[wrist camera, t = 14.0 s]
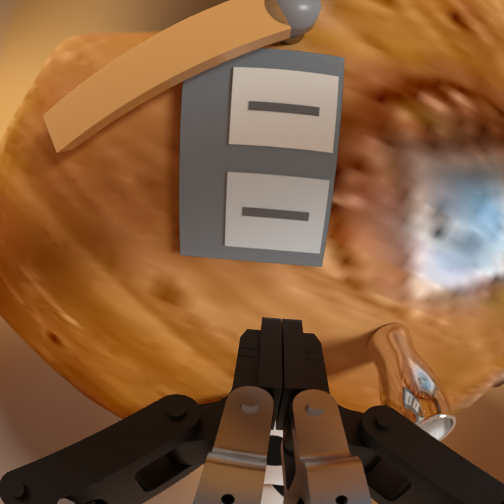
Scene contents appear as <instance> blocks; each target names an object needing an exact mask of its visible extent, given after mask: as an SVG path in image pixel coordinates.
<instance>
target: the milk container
mask: <svg viewBox="0 0 504 504" xmlns="http://www.w3.org/2000/svg"><path fill="white" fill-rule="evenodd" d="M282 441H283V430H276V421H275V426H274V430H271V433H270V437H269V445H268V452H267V465H266V472H265V479H264V486H263V492H262V498H261V504H283V499H284V486H283V473H282V461H281V444H282Z"/></svg>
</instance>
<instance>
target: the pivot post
mask: <svg viewBox="0 0 504 504" xmlns="http://www.w3.org/2000/svg"><path fill="white" fill-rule="evenodd" d="M304 34H305V33H304ZM304 34H301V35H295V36H290V38H288V39H285V40H282V41H279V42H280V43H282V44H286V45H292V44H296V43H298V42H300V41H301V40H302V39H303V37H304Z"/></svg>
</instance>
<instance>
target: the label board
mask: <svg viewBox="0 0 504 504" xmlns="http://www.w3.org/2000/svg"><path fill="white" fill-rule="evenodd" d="M343 79H344V58H343V57H337V56H331V55H324V54H317V53H310V52H301V51H292V50H280V49H265V48H259V49H256V50H253V51H251V52H248V53H245V54H243V55H240V56H238V57H235V58H233V59H231V60H228V61H226V62H223V63H221V64H219V65H216V66H214V67H212V68H210V69H208V70H205V71H203V72H201V73H199V74H197V75H195V76H193V77H191V78H189V79H187V80H185V81H183V87H182V104H181V126H180V161H179V222H180V255H185V256H196V257H208V258H219V259H231V260H243V261H255V262H267V263H279V264H292V265H304V266H317V267H322V263H323V257H324V251H325V245H326V239H327V232H328V225H329V218H330V211H331V204H332V196H333V189H334V180H335V172H336V163H337V154H338V144H339V133H340V122H341V109H342V95H343Z"/></svg>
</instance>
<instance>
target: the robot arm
mask: <svg viewBox="0 0 504 504" xmlns="http://www.w3.org/2000/svg"><path fill="white" fill-rule="evenodd" d="M322 353H323V352H322V346H321V342H320V341H319V339H318V338H317V337H316V336H315V334H311V333H303V327H302V321H301V320H293V319H282V323H281V319H278V318H265V317H262V324H261V330H252V329H247V330H246V331H245V332H244V334H243V335H242V336H241V337H240V343H239V349H238V357H237V362H236V369H235V375H234V381H233V387H232V390H231V392H230V393H229V394H228V395H227V396H226V397H225V398H224V399H222V400H220V401H217V402H213V403H207V404H199V405H198V404H197V403H196V401H195V400H193V399H192V398H190V397H188V396H185V395H179V394H173V395H168V396H165V397H163V398H161V399H159V400H158V401H156V402H154V403H152V404H150V405H149V406H147V407H145V408H143V409H141V410H140V411H138V412H136V413H134V414H132V415H130V416H128V417H127V418H125V419H123V420H121V421H119V422H117V423H115V424H113V425H111V426H109V427H107V428H105V429H103V430H101V431H100V432H97V433H96V434H94V435H91V436H89V437H87V438H85V439H83V440H81V441H79V442H77V443H75V444H73V445H70V446H68V447H66V448H64V449H62V450H59V451H57V452H55V453H53V454H51V455H49V456H46V457H44V458H41V459H39V460H37V461H34V462H32V463H29V464H27V465H24V466H22V467H20V468H17V469H14V470H12V471H10V472H7V473H6V474H5V475H4V476H3V477H2V479H1V481H0V497H1V499H2V501H3V502H4V503H5V504H142V503H144V502H146V501H147V500H149V499H151V498H152V497H154V496H156V495H157V494H159V493H161V492H162V491H164V490H165V489H167V488H169V487H170V486H172V485H173V484H175V483H176V482H178V481H179V480H181V479H182V478H184V477H185V476H187V475H188V474H190V473H191V472H193V471H194V470H196V469H197V468H198V467H200V466H201V465H202V464H203V463H205V464H204V468H203V471H202V475H201V478H200V481H199V485H198V488H197V492H196V495H195V498H194V501H193V504H261V498H262V492H263V486H264V479H265V472H266V465H267V452H268V445H269V437H270V433H271V430H274V426H275V421H276V430H283V441H282V444H281V461H282V473H283V486H284V499H283V504H372V501H371V498H372V499H373V500H374V501H376V502H377V503H378V504H504V484H503V483H501V482H500V481H498V480H497V479H495V478H494V477H492V476H490V475H489V474H487V473H486V472H484V471H483V470H481V469H480V468H478V467H477V466H475V465H474V464H472V463H471V462H469V461H468V460H466V459H465V458H463V457H462V456H460V455H459V454H457V453H456V452H454V451H453V450H451V449H450V448H449V447H447V446H446V445H444V444H443V443H441V442H440V441H438V440H437V439H436V438H434V437H433V436H431V435H430V434H428V433H427V432H426V431H424V430H423V429H421V428H420V427H419V426H417V425H416V424H414V423H413V422H412V421H410V420H409V419H407V418H406V417H405V416H403V415H402V414H401V413H399V412H398V411H396V410H395V409H393V408H391V407H388V406H383V405H379V406H374V407H371V408H369V409H368V410H367V411H366V412H365V413H361V412H357V411H353V410H349V409H346V408H343V407H341V406H340V405H338V404H337V402H336V400H335V399H334V398H333V397H332V396H331V395H330V392H329V387H328V381H327V375H326V369H325V363H324V357H323V354H322Z"/></svg>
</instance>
